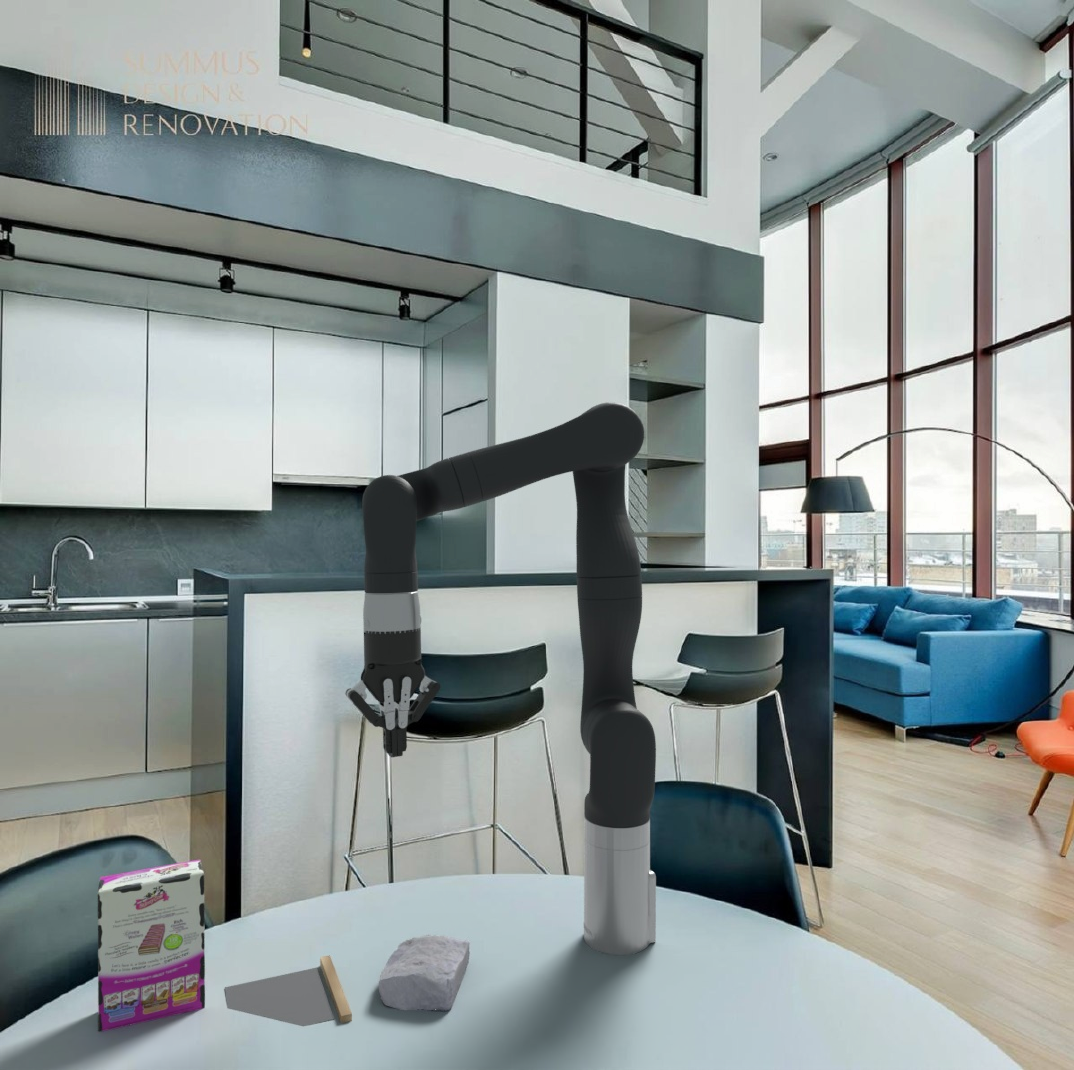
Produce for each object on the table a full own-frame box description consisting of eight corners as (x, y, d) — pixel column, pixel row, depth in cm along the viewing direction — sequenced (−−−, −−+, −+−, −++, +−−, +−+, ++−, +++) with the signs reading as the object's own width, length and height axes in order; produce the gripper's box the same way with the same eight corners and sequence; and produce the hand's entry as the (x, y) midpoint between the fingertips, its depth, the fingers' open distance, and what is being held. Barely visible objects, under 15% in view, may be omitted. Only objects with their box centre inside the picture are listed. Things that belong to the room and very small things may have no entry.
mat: (316, 971, 102) (316, 967, 102) (334, 1023, 91) (334, 1018, 91) (224, 991, 97) (224, 987, 97) (231, 1048, 86) (231, 1043, 86)
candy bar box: (201, 991, 97) (202, 856, 97) (205, 1012, 93) (206, 872, 93) (97, 1015, 92) (98, 874, 92) (96, 1040, 88) (97, 891, 88)
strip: (329, 964, 103) (329, 955, 103) (351, 1024, 91) (351, 1013, 91) (320, 966, 103) (320, 957, 103) (341, 1026, 90) (341, 1016, 90)
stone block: (375, 1023, 93) (457, 1013, 92) (368, 982, 93) (450, 971, 92) (402, 972, 105) (475, 962, 104) (396, 935, 105) (469, 925, 104)
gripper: (430, 620, 112) (433, 742, 112) (336, 626, 106) (339, 755, 106) (448, 625, 105) (451, 755, 105) (348, 632, 100) (351, 770, 100)
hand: (395, 755), depth 106 cm, fingers closed
